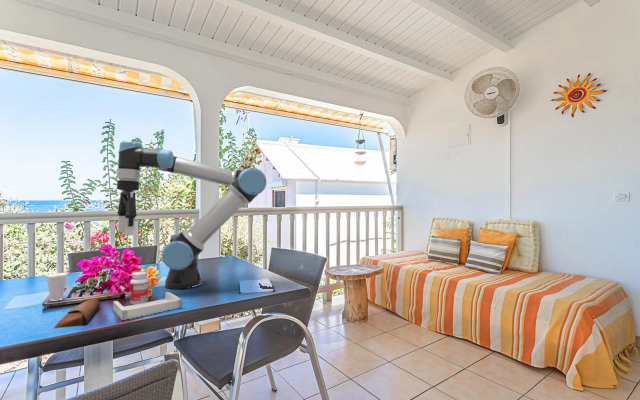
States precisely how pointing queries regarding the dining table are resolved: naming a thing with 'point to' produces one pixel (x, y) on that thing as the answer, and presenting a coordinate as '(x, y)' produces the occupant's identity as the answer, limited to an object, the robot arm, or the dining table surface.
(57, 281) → the smoothie
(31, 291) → the dining table surface
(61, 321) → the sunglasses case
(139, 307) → the tray
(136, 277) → the pill bottle
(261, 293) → the dining table surface
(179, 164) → the robot arm
